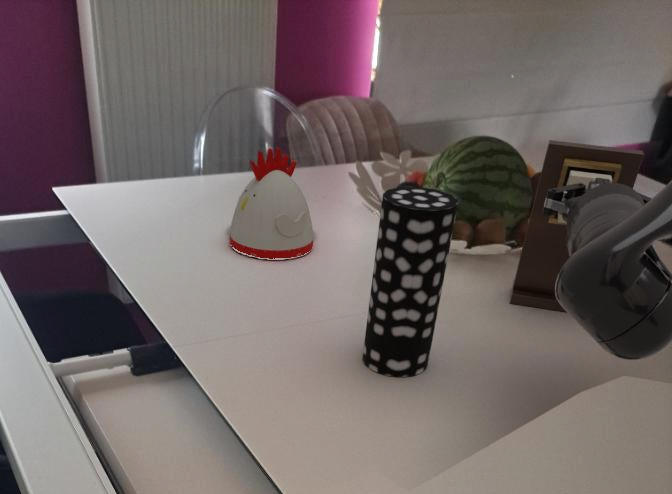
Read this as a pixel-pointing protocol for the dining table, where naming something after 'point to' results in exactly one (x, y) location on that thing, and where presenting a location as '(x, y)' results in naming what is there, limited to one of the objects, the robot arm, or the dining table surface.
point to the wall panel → (545, 231)
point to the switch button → (582, 181)
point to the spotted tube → (408, 279)
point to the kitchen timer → (272, 212)
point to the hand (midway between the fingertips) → (599, 187)
